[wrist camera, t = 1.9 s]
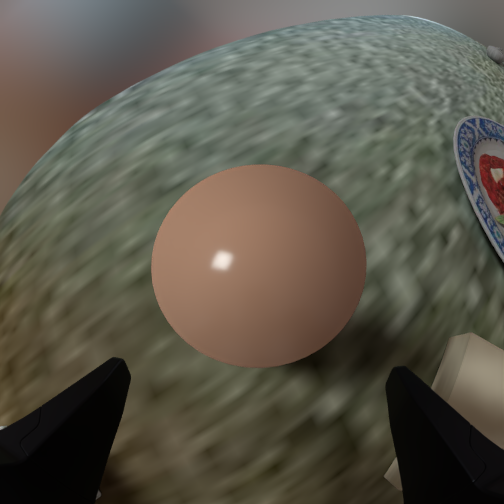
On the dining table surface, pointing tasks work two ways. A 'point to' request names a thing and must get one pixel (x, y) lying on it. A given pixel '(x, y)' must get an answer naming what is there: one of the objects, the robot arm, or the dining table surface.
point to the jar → (258, 266)
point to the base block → (470, 388)
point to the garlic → (495, 54)
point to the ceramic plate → (483, 172)
